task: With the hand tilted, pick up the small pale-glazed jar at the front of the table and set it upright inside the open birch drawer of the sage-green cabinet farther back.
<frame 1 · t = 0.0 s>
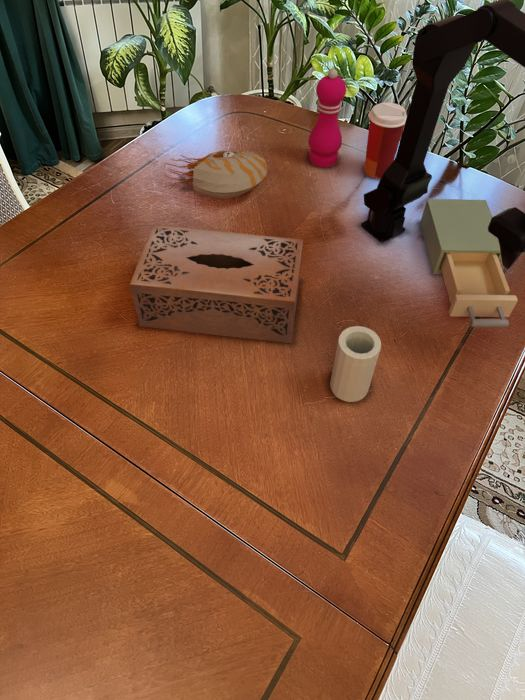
jar: (349, 385, 90), on the table
cabinet: (455, 247, 110), on the table
paper cup: (376, 172, 125), on the table
nautilus: (216, 186, 121), on the table
pepper mill: (322, 160, 128), on the table
drawer: (477, 288, 99), point 3 cm above the table, slide at 10.0 cm
tissue box cover: (222, 303, 100), on the table
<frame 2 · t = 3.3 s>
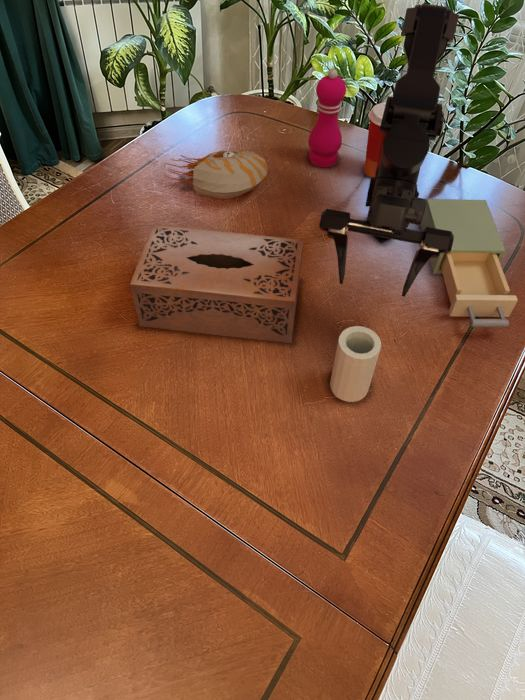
hand: (371, 290, 84), 14 cm above the table, tool tilted 45°, fingers open, 9 cm apart
nothing on the table moved.
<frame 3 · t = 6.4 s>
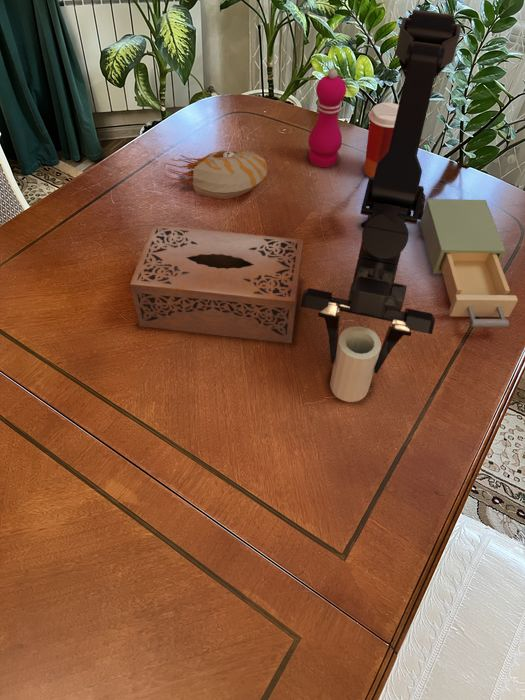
hand: (353, 368, 84), 7 cm above the table, tool tilted 45°, fingers closed on jar, 6 cm apart
jar: (349, 385, 90), on the table, touching gripper
everything else where it was.
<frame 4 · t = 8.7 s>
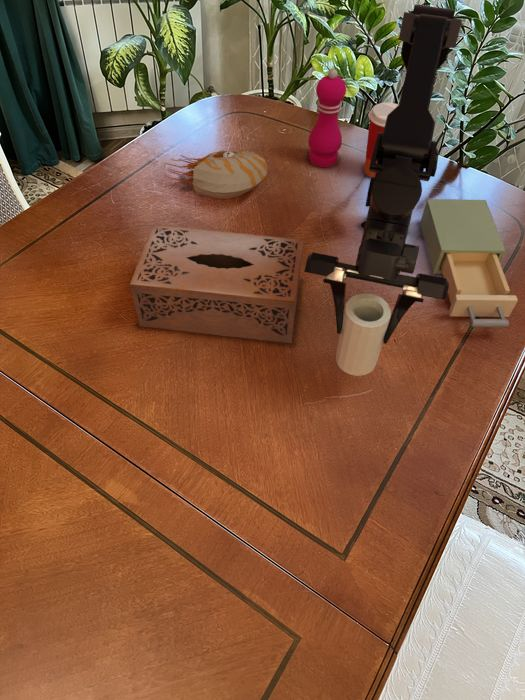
hand: (361, 338, 78), 13 cm above the table, tool tilted 45°, fingers closed on jar, 6 cm apart
jar: (355, 359, 85), point 7 cm above the table, touching gripper
everything else where it was.
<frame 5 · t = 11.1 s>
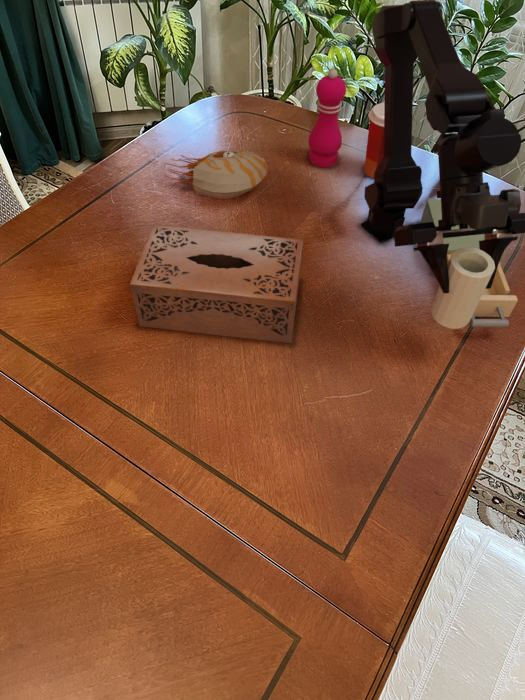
hand: (466, 290, 82), 15 cm above the table, tool tilted 45°, fingers closed on jar, 6 cm apart
jar: (450, 313, 88), point 8 cm above the table, touching gripper
everything else where it was.
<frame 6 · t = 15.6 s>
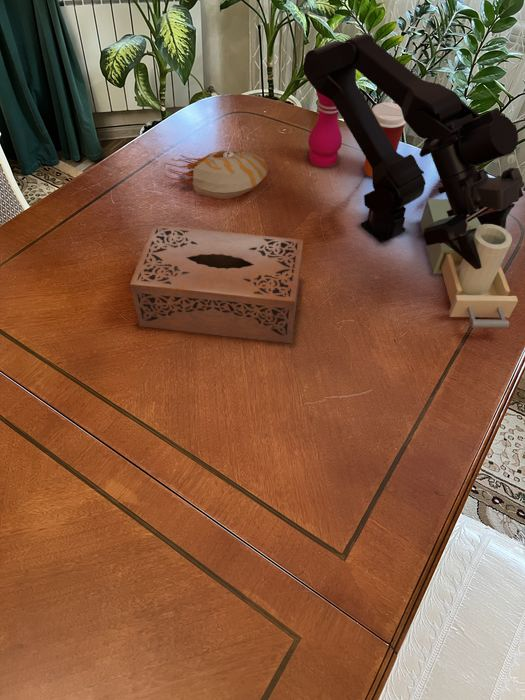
hand: (490, 260, 96), 8 cm above the table, tool tilted 45°, fingers closed on jar, 6 cm apart
jar: (471, 283, 102), point 2 cm above the table, touching drawer, gripper
drawer: (477, 289, 99), point 3 cm above the table, slide at 10.1 cm, touching jar
everything else where it was.
when the fingers open (8 cm above the table, at t = 15.9 s): jar stays where it is, resting on drawer.
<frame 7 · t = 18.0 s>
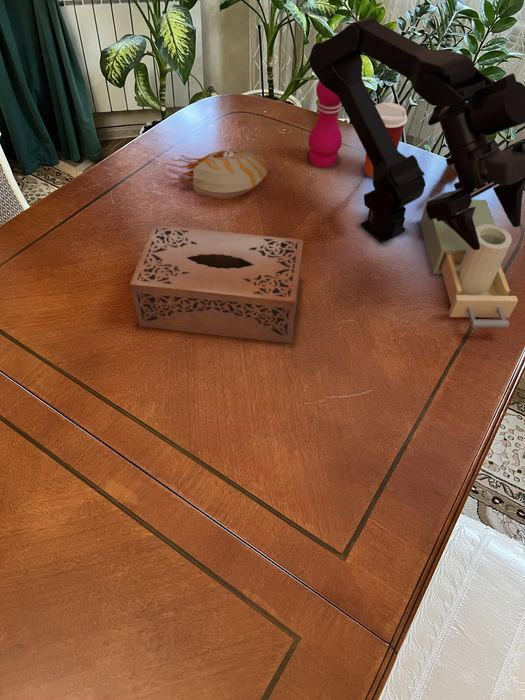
hand: (497, 237, 92), 13 cm above the table, tool tilted 45°, fingers open, 9 cm apart
jar: (471, 283, 102), point 2 cm above the table, touching drawer
everything else where it was.
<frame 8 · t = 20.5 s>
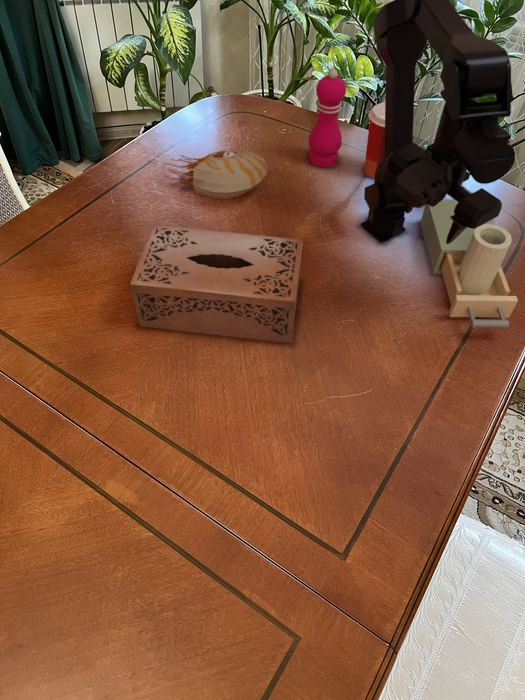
hand: (428, 227, 94), 13 cm above the table, tool pointing down, fingers open, 9 cm apart
nothing on the table moved.
at the end: jar inside the target area in the drawer (0.4 cm from its centre), point 1.9 cm above the cabinet's base; jar tilted 0°; the gripper is holding nothing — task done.
